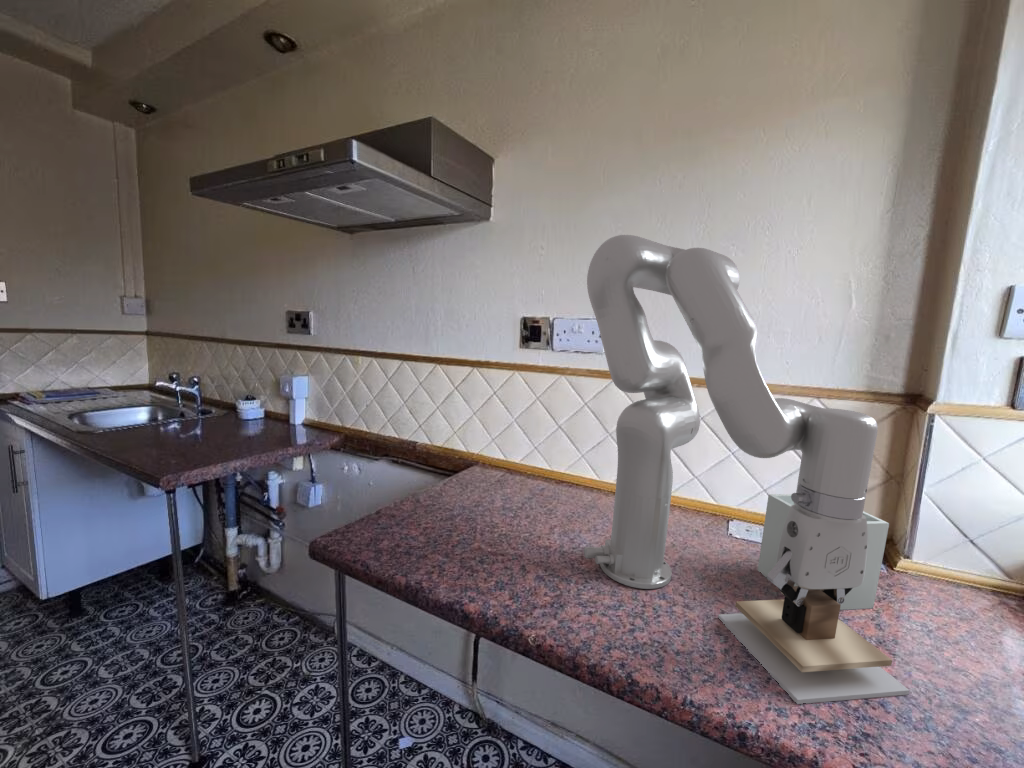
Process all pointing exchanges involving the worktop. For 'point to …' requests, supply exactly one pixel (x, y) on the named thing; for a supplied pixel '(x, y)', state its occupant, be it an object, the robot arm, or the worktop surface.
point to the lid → (814, 635)
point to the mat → (811, 683)
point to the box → (876, 544)
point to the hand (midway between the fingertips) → (807, 624)
